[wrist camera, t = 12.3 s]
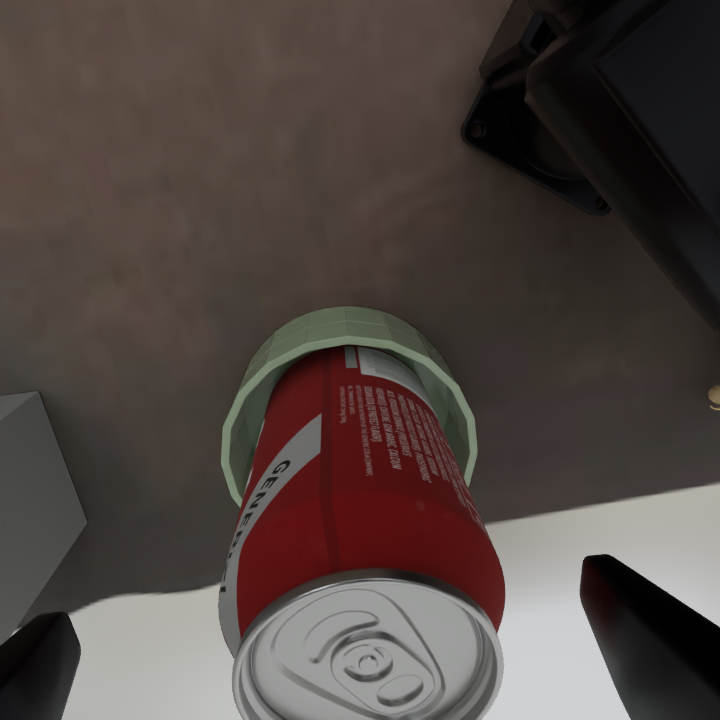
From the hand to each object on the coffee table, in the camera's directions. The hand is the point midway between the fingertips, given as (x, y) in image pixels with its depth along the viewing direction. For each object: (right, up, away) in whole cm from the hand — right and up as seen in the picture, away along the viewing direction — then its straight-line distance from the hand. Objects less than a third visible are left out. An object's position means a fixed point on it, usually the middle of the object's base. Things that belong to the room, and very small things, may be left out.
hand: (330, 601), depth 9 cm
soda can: (0, +2, +13) cm, 13 cm away
